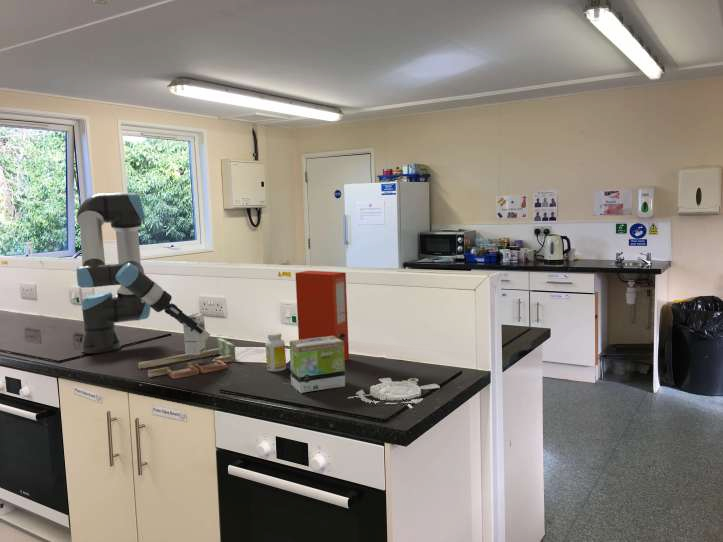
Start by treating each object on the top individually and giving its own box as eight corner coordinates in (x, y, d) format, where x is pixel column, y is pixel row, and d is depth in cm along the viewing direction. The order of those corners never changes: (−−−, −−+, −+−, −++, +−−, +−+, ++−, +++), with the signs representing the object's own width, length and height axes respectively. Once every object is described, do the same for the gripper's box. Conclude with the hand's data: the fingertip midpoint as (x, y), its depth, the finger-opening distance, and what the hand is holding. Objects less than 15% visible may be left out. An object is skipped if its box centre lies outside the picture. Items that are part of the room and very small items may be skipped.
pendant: (340, 403, 174) (340, 399, 174) (386, 376, 198) (385, 372, 198) (406, 414, 164) (406, 409, 163) (446, 384, 187) (446, 380, 187)
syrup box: (199, 355, 219) (197, 316, 218) (184, 354, 221) (182, 315, 219) (206, 351, 225) (204, 313, 223) (192, 350, 226) (189, 312, 224)
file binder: (313, 353, 230) (309, 270, 226) (349, 358, 220) (345, 272, 216) (299, 358, 224) (294, 272, 220) (335, 364, 213) (331, 275, 209)
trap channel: (138, 368, 220) (137, 351, 219) (221, 352, 237) (220, 337, 236) (155, 382, 200) (153, 365, 200) (244, 364, 218) (243, 348, 217)
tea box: (300, 394, 182) (297, 347, 180) (290, 385, 191) (288, 340, 189) (346, 386, 188) (344, 340, 186) (335, 378, 197) (332, 334, 195)
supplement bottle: (289, 367, 212) (287, 331, 210) (281, 372, 206) (278, 336, 204) (272, 366, 214) (270, 331, 213) (263, 371, 208) (261, 335, 206)
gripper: (142, 302, 221) (189, 338, 231) (156, 309, 204) (206, 348, 214) (156, 286, 223) (201, 323, 233) (171, 292, 206) (220, 331, 216)
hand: (203, 335), depth 224 cm, fingers closed on syrup box, 8 cm apart
